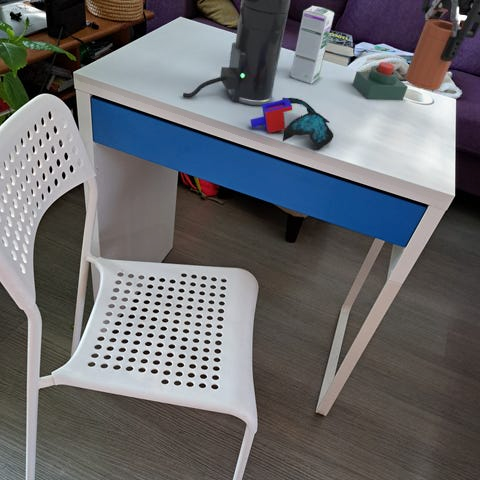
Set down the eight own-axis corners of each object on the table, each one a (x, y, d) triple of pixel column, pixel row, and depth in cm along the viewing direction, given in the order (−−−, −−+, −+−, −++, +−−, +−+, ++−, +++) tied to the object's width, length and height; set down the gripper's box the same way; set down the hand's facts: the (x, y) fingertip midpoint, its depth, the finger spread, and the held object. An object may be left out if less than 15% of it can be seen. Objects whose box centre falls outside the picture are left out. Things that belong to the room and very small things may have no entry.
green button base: (367, 98, 118) (374, 77, 114) (352, 84, 123) (359, 63, 119) (402, 100, 121) (410, 78, 118) (387, 86, 126) (394, 65, 123)
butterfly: (339, 145, 92) (295, 116, 88) (322, 166, 95) (279, 139, 92) (331, 107, 104) (293, 80, 100) (316, 127, 107) (278, 101, 104)
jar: (416, 89, 89) (440, 31, 82) (398, 74, 93) (419, 17, 86) (446, 90, 91) (472, 34, 85) (427, 75, 95) (450, 20, 89)
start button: (381, 75, 117) (383, 67, 116) (374, 69, 119) (376, 61, 118) (394, 76, 118) (397, 68, 117) (387, 70, 120) (389, 62, 119)
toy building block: (290, 119, 99) (251, 128, 99) (288, 98, 96) (247, 107, 96) (294, 127, 97) (254, 136, 97) (292, 105, 94) (250, 115, 94)
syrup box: (311, 84, 119) (328, 16, 108) (288, 77, 120) (303, 8, 109) (318, 77, 123) (336, 11, 112) (296, 70, 124) (311, 4, 113)
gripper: (436, -77, 80) (396, 36, 92) (491, -54, 71) (439, 68, 83) (473, -71, 82) (430, 38, 94) (531, -48, 73) (475, 69, 85)
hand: (434, 52), depth 89 cm, fingers closed on jar, 6 cm apart
